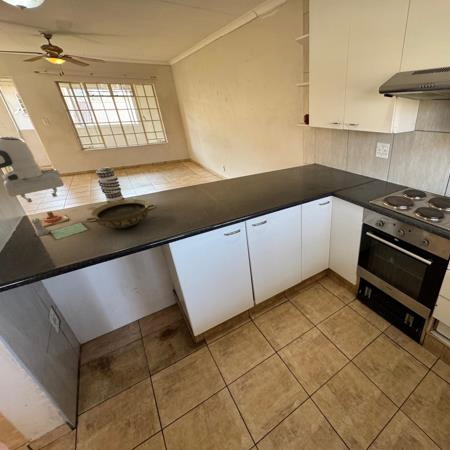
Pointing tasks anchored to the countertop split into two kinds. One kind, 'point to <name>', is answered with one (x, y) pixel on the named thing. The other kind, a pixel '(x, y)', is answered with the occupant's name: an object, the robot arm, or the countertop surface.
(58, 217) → the ring
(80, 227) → the mat
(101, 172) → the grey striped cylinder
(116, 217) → the ceramic bowl
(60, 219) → the holder
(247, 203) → the countertop surface
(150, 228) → the countertop surface
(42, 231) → the rook chess piece
